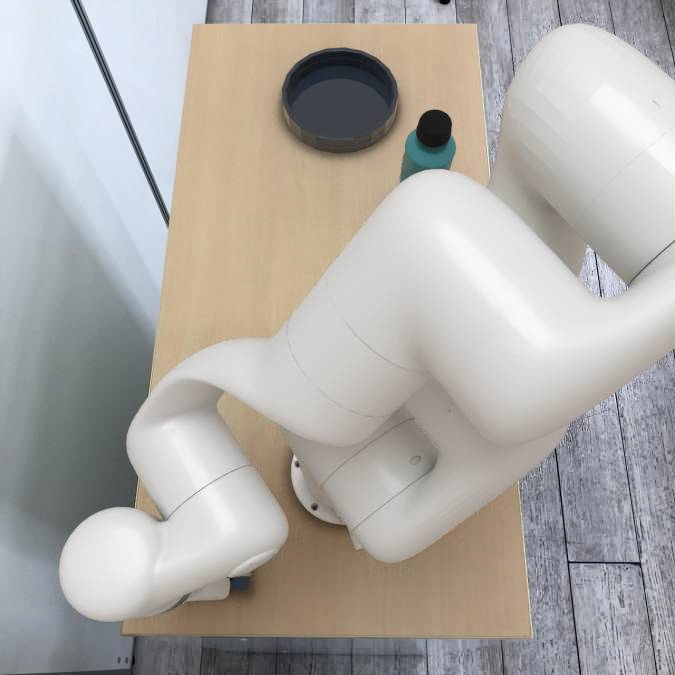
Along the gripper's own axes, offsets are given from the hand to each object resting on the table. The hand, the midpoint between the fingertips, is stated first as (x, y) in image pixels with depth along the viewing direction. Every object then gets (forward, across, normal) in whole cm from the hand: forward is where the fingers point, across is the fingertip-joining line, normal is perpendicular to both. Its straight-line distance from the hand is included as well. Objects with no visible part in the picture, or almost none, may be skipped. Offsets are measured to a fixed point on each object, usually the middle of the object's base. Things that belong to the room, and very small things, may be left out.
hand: (195, 571), depth 70 cm
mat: (+4, +2, +2) cm, 5 cm away
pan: (+3, +16, +68) cm, 70 cm away
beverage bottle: (+3, +27, +48) cm, 56 cm away
